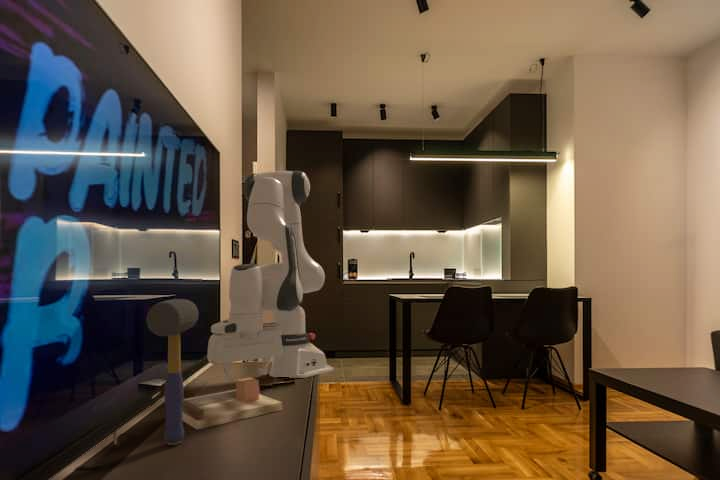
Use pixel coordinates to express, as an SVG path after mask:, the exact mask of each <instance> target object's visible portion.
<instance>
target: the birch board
mask: <svg viewBox="0 0 720 480" xmlns="http://www.w3.org/2000/svg"><path fill="white" fill-rule="evenodd" d="M280 411H283V402H282V401H280V400H278V399H274V398H271V397H269V396H266V395H263V394H262V393H259V400H254V401H249V402H243V401H240V400H238V399H231V400H226V401H221V402H216V403H211V404H206V405H200V406H195V405H193V404H191V403H189V402H187V401H186V400H184V401H183V407H182V422H184V423H186V424H187V425H188V426H190V427H192V428H194V429H195V430H201V429H205V428H211V427H213V426H214V427H215V426H219V425H224V424H228V423H233V422H236V421H241V420H245V419H249V418H254V417H259V416H262V415H268V414H271V413H275V412H280Z"/></svg>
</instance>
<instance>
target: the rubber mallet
mask: <svg viewBox="0 0 720 480" xmlns="http://www.w3.org/2000/svg"><path fill="white" fill-rule="evenodd" d="M198 320H199V309H198V307H197V305H196V304H195V303H194V302H193V301H191V300H189V299H183V298H173V299H172V298H171V299H167V300H164V301H160V302H157V303H156V304H154V305H152V307H151V308H149V310H148V311H147V315H146V326H147V327H148V329H149V331H150V332H151V333H153V334H154V335H156V336H158V337H167V373H166V375H165V376H166V377H165V382H164V404H165V405H164V406H165V429H164V434H163V439H164V441H165V443H166V444H167V445H168V446H177V445H179V444H181V443H182V442H183V439H184V437H185V429H184V425H183V420H182V407H183V399H185V397H184V396H185V393H184V392H185V389H184V379H183V375H182V363H181V362H182V361H181V359H182V358H181V352H182V351H181V349H182V348H181V346H182V345H181V334H182V333H184V332H187V330H189V329H191V328H193V327H194V326H195V325H197V322H198Z"/></svg>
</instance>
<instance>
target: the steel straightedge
mask: <svg viewBox="0 0 720 480" xmlns="http://www.w3.org/2000/svg"><path fill="white" fill-rule="evenodd" d="M231 399H236V389H232V390H226V391H220V392H214V393H209V394H205V395H199V396H198V395H197V396H194V397H187V398H183V401H184V400H186V401H187V402H189V403H191V404H193V405H195V406H200V405H206V404H211V403H216V402H221V401H226V400H231Z"/></svg>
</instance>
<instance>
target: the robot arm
mask: <svg viewBox="0 0 720 480" xmlns="http://www.w3.org/2000/svg"><path fill="white" fill-rule="evenodd" d="M310 191H311V183H310V180H309V176H308V175H307V173H305V172H304V171H301V170H292V171H291V170H274V171H268V172H267V171H266V172H261V173H258V172H256V173H255V172H254V173H251V174H249V175H247V176H246V178H245V179H244V182H243V194H244V198H245V200H246V201H247V202H248V206H247V213H246V223H247V224H246V225H247V227H248V229H249V231H250V232H251V233H252V234H253V235H254V236H255V237H257V238H258V239H260V240H263V241H264V242H265V241H266V242H268V243H270V245H271V247H272V249H274V250H275V251H276V252H278V253H280V254H281V259H282V261H281V262H271V263H270V262H269V263H265V264H261V265H259V264H256V263H244V264H243V263H241V264H237V265H234V266H233V267H232V268H231V271H230V278H229V285H228V286H229V287H228V288H229V291H228V297H229V301H230V302H229V303H230V309H229V315H228V316H229V317H228V318H226V319H224V320H221V321H219V322H216V323H214V324H212V325H211V327H210V331H211V332H210V333H212V335H210V337H209V339H208V345H207V358H206V359H207V361H208V362H209V363H210V364H212V365H220V364H221V368H222V370H223V371H224V373H225V380H226V381H234V380H235V378H234V375H235V373H234V372H232V371H231V370H230V369H229V368H230V366H231V363H237V362H242V361H243V362H244V361H251V360H258V359H260V360H261V359H262V362H263V363H262V365H261V367H258V375H259V376H265V375H267V374H268V367H269V365H270V363H271V368H270V371H269V376H270V377H272V378H277V377H289V378H288V379H292V378H293V379H298V378H299V379H306V378H309V377H313V376H317V375H321V374H325V373H329V372H333V371H334V367H332V366H331V365H329V364H327V357H326V353H324V351H322V350H321V349H320V348H318V347H316V346H315V345H314V344H313V343H311V340H314V339H316V335H315V333H312V332H310V333H308V332H306V313H305V309H304V308H303V307H302V306H300V305H301V303H302V302H303V295H304V294H309V293H313V292H317V291H320V290H321V289H322V288H323V286H324V284H325V279H326V275H325V271H324V269H323V267H322V266H321V265H320V263H318V262H316V261H315V260H314V259H313V258H312V257H311V256H310V255H309V253H308V251H307V250H306V247H305V245H304V238H303V228H302V215H301V209H300V208H301V207H300V206H301V205H302V203H304V202H306V200H307V199H308V197H309V196H310ZM264 311H271V314H272V321H273V322H264ZM271 359H272V362H271Z"/></svg>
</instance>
